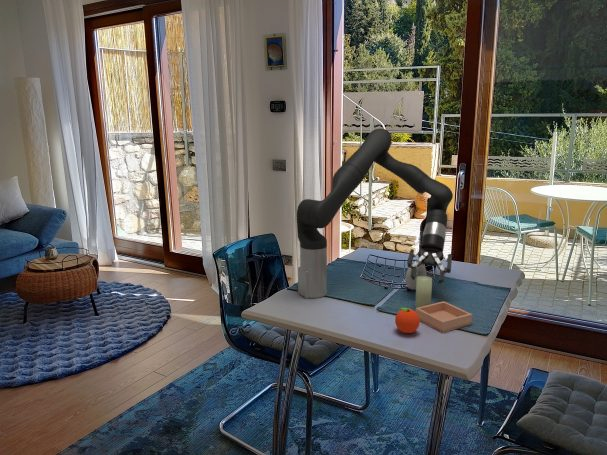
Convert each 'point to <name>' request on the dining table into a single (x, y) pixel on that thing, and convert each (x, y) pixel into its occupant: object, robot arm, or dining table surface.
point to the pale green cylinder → (423, 291)
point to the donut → (420, 272)
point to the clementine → (407, 320)
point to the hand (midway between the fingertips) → (426, 280)
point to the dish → (443, 316)
